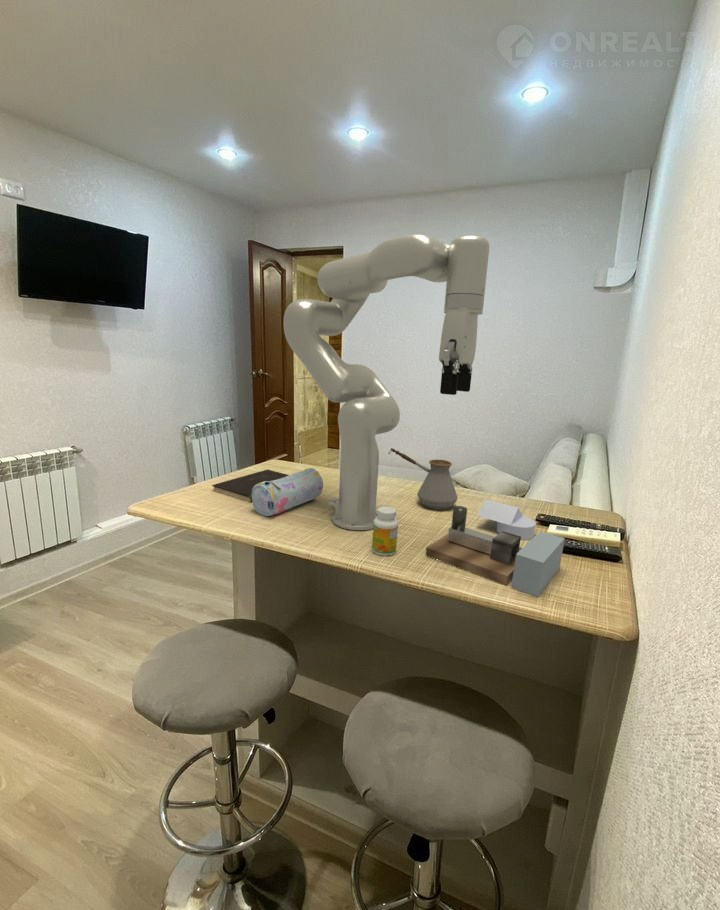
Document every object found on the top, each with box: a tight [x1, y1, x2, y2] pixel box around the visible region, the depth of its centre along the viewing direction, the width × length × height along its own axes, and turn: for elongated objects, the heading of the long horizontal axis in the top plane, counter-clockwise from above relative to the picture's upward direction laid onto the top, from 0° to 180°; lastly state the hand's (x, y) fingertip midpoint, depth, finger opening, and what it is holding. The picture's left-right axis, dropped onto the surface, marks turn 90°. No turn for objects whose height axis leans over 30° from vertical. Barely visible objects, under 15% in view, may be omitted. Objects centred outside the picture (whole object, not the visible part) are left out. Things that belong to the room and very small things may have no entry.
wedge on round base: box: [477, 498, 537, 541], centre depth 113 cm, size 9×7×13 cm
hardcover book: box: [211, 469, 290, 504], centre depth 137 cm, size 16×23×2 cm
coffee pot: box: [387, 447, 458, 511], centre depth 130 cm, size 21×12×15 cm, turn 67°
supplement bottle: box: [371, 506, 399, 557], centre depth 97 cm, size 5×5×10 cm
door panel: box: [425, 531, 523, 586], centre depth 97 cm, size 18×15×6 cm
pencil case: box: [252, 467, 324, 517], centre depth 121 cm, size 21×9×10 cm, turn 144°
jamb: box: [510, 531, 566, 598], centre depth 90 cm, size 5×15×7 cm, turn 142°
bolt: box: [447, 505, 496, 554], centre depth 97 cm, size 12×3×8 cm, turn 52°
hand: (455, 392), depth 92 cm, fingers open, 9 cm apart
